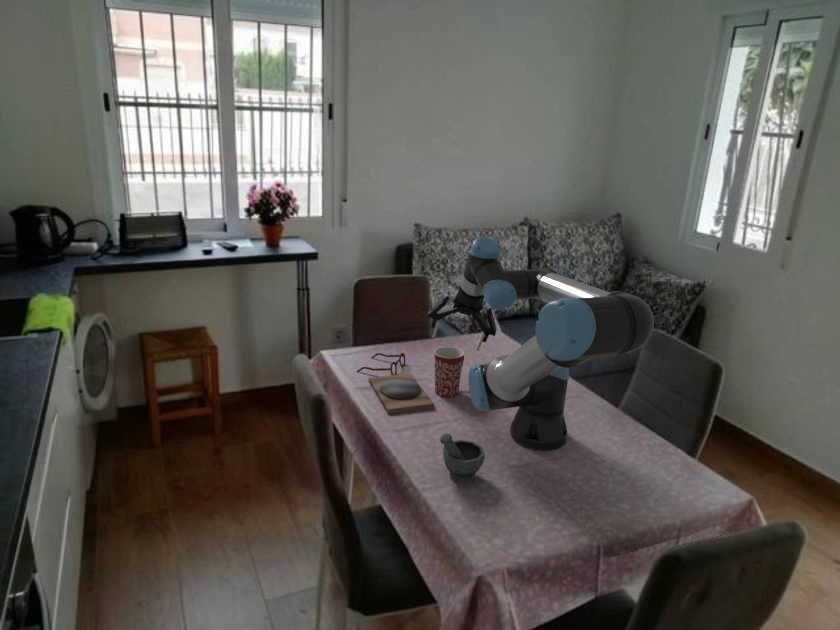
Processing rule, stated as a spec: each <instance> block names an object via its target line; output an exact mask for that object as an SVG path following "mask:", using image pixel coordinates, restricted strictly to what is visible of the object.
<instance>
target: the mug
mask: <svg viewBox="0 0 840 630" xmlns="http://www.w3.org/2000/svg"><path fill="white" fill-rule="evenodd" d="M433 352H434V353H433V354H434V392H435V394H436V395H437V396H440V397H443V398H453V397H456V396H457V395H458V394H459V391H460V383H461V375H462V368H463V365H464V361H465V352H464V350H462V349H460V348H458V347H454V346H440V347H438V348H436V349H434V351H433Z"/></svg>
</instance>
